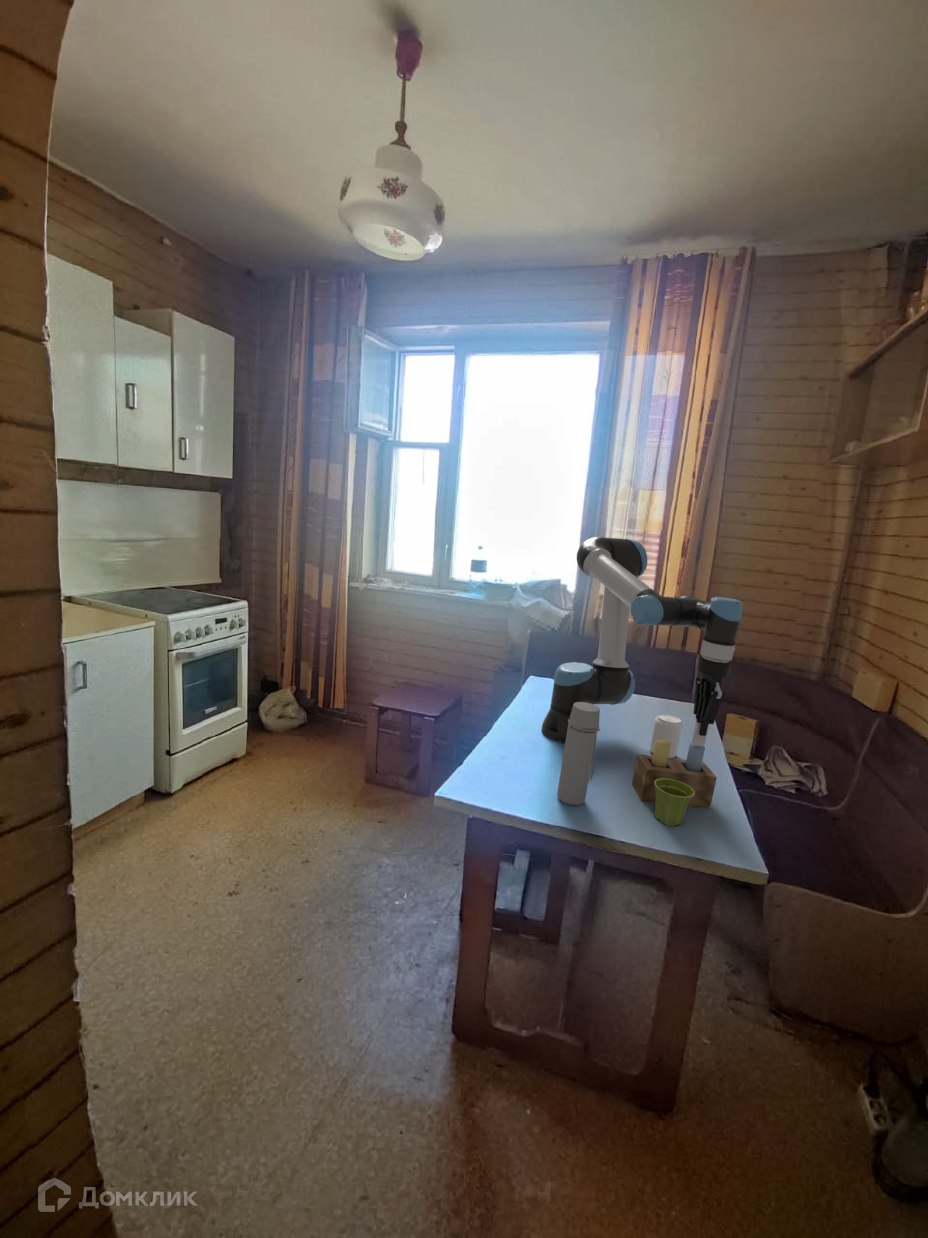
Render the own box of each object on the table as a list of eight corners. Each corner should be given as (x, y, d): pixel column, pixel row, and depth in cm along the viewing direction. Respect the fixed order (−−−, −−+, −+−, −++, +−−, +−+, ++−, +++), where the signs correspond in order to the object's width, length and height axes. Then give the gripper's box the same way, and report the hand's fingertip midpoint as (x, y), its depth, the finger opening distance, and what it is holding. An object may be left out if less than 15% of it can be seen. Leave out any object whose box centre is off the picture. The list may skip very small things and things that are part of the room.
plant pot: (647, 805, 147) (653, 774, 145) (686, 815, 145) (693, 783, 143) (648, 824, 138) (654, 791, 136) (689, 834, 136) (696, 800, 134)
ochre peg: (652, 772, 150) (658, 744, 148) (648, 766, 154) (653, 738, 152) (667, 774, 150) (672, 746, 148) (662, 768, 154) (668, 740, 152)
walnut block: (640, 801, 149) (647, 769, 147) (631, 784, 158) (637, 754, 156) (709, 809, 149) (716, 777, 147) (696, 792, 158) (703, 761, 156)
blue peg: (686, 776, 150) (692, 748, 148) (681, 770, 154) (687, 742, 152) (701, 778, 150) (707, 750, 148) (695, 771, 154) (701, 744, 152)
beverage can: (676, 753, 183) (683, 717, 181) (674, 762, 176) (681, 725, 174) (650, 746, 186) (657, 711, 184) (647, 754, 179) (654, 718, 177)
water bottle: (567, 809, 141) (582, 713, 136) (550, 793, 148) (564, 701, 143) (597, 805, 144) (614, 711, 139) (579, 789, 151) (594, 700, 146)
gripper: (741, 667, 139) (722, 757, 144) (719, 653, 152) (702, 736, 157) (711, 663, 139) (692, 754, 144) (691, 650, 152) (675, 733, 157)
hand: (697, 745), depth 150 cm, fingers closed
